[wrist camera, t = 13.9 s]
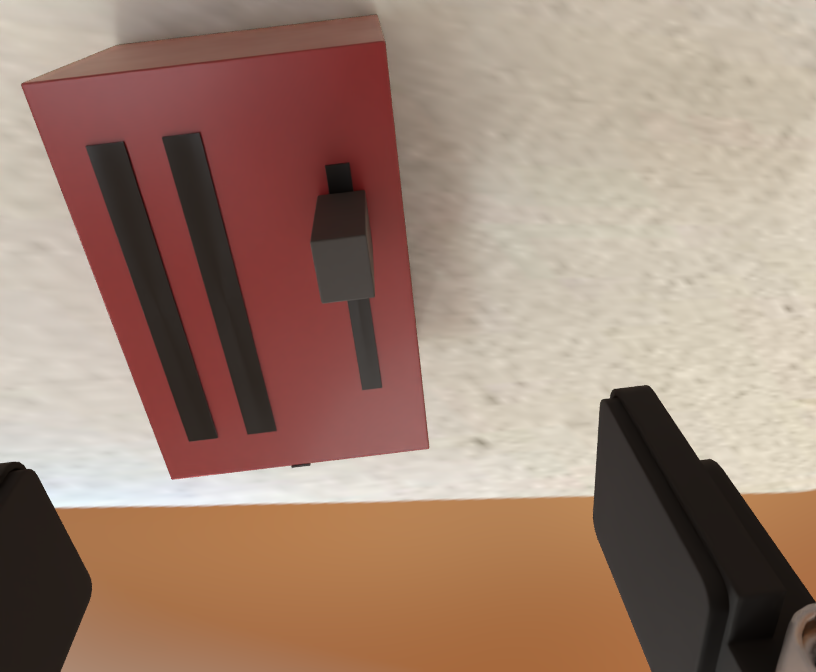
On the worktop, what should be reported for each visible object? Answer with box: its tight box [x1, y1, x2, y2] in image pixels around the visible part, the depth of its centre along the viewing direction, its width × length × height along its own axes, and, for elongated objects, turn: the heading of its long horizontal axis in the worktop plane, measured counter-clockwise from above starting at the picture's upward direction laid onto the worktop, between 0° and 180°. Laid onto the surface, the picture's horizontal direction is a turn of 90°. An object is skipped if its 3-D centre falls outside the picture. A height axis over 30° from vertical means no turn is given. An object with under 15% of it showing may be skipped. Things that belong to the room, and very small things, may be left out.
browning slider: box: [310, 190, 375, 304], centre depth 21 cm, size 2×2×4 cm
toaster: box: [21, 15, 429, 480], centre depth 28 cm, size 16×11×9 cm
